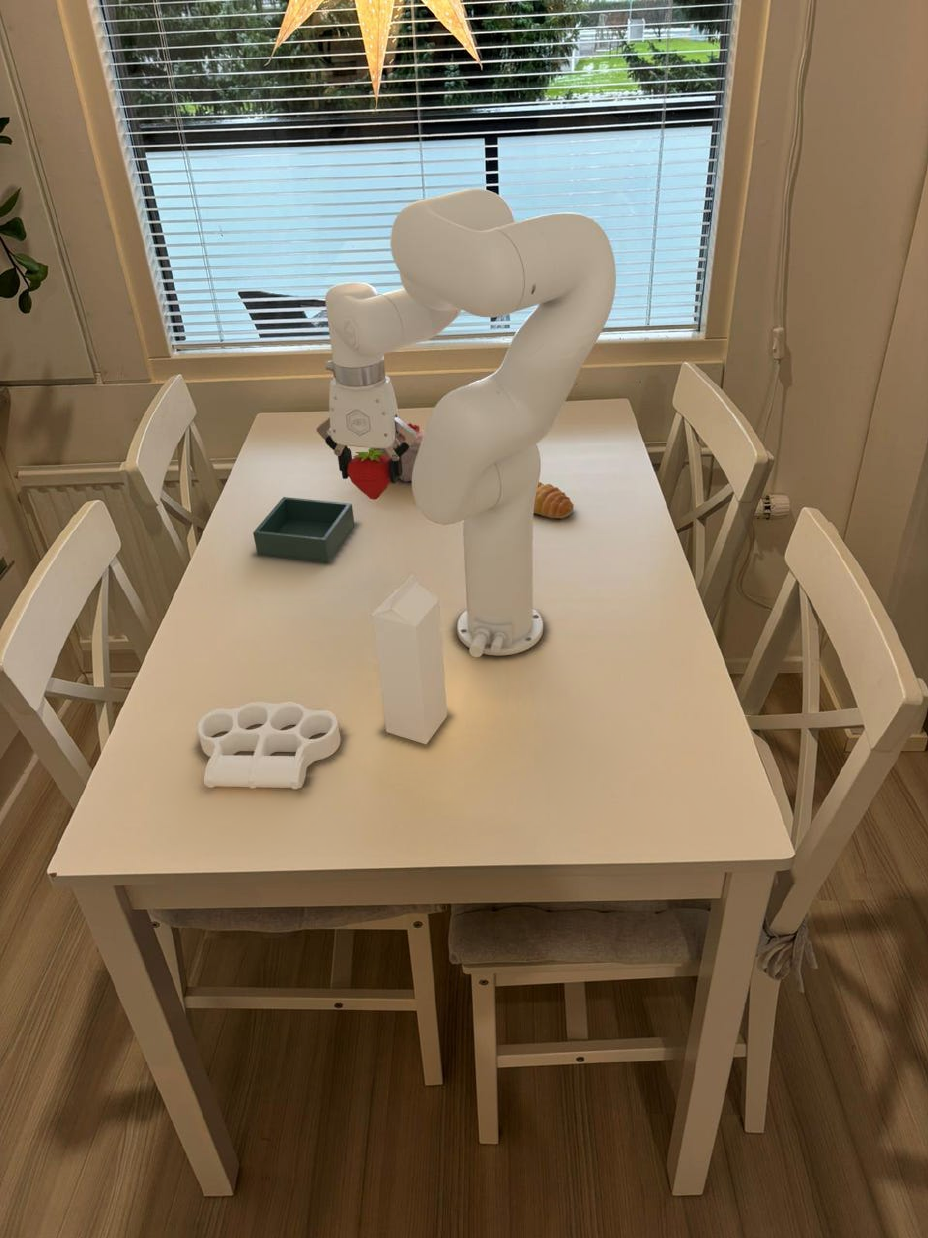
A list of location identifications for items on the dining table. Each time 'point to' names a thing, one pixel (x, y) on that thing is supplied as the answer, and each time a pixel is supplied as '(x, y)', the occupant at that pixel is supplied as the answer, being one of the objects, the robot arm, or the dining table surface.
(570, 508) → the pastry
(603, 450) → the dining table surface
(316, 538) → the open box
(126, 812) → the dining table surface
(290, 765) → the white brass knuckles
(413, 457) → the food item
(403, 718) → the milk
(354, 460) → the strawberry
